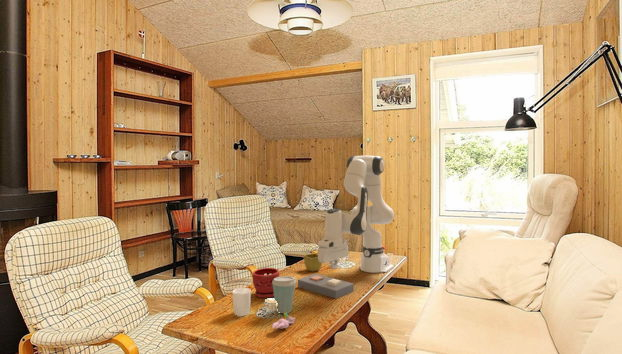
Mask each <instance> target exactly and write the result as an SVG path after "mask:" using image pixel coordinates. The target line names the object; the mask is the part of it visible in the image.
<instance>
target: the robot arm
mask: <svg viewBox="0 0 622 354" xmlns="http://www.w3.org/2000/svg"><path fill="white" fill-rule="evenodd" d="M385 165H386V164H385V159H384V158H383V157H382V156H379V155H367V154H365V155H352V156H349V158H348V159H347V161H346V172H345V175H344V177H343V178H344V179H343V187H344V189H345V191H347V192H348V193H349V194H350V195H353V196H354V197H356V198H357V206H354V207H352V209H351V213H345V212H342V210H341V208H337V207H334V208H330V209H327V210H326V211H325V212H326V213H325V216H324V217H325V218H324V228H325V232H324V233H325V234H324V237H323V238H322V239H321V240H319V241H318V243H317V246H318V249H317V254H318V261H319V262H320V263H322V264H326V263H329V264H330V269H331V270H335V269H338V263H339V261H340V259H342V258H346V257H347V258H348V257H349V245H348V241H347V239H346V238H343V233H344V234H345V233H347V234H353V235H357V236H360V235H362V243H363V244H362V249H361V250H362V254H361V259H360V265H358V267H359V268H360V270H361V271H362V272H364V273H374V274H375V273H378V274H379V273H383V272H385V273H387V272H389V271H390V270H392V269H393V268H395V266H394V264H392V263H391V260H390V257H389V256H388V255H387V254H386V253H385V252H384V250H386V245H385V246H384V245H382V241H383V240H382V238H383V237H382V233H381V232H380V231H379V230H378V229H376V228H374V227H373V226H372V225H387V224H391V223H392V222H393V221H394V219H395V213H394V210H393V209H392V208H391V206H389V205H388V204H387V202H385V200H384V198H383V194H382V179H381V178H382V177H381V176H382V175H381V174H382V173H383V172H384V170H385ZM368 201H369V202H370V203H371V204H372V205H368Z"/></svg>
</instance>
